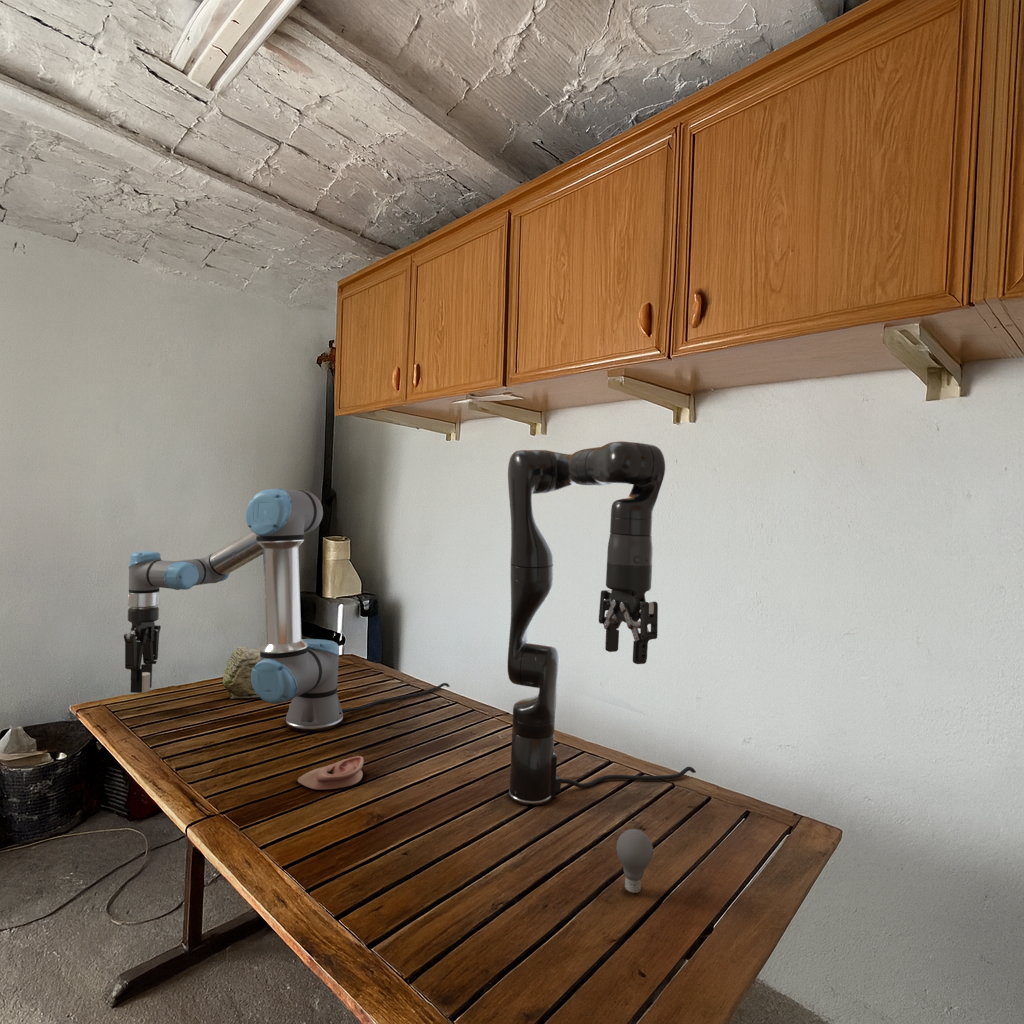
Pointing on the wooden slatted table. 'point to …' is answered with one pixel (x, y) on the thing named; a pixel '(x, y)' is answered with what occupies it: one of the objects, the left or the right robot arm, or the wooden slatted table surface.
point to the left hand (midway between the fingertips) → (141, 689)
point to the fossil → (241, 672)
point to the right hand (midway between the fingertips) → (624, 657)
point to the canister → (145, 682)
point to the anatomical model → (334, 775)
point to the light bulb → (634, 857)
